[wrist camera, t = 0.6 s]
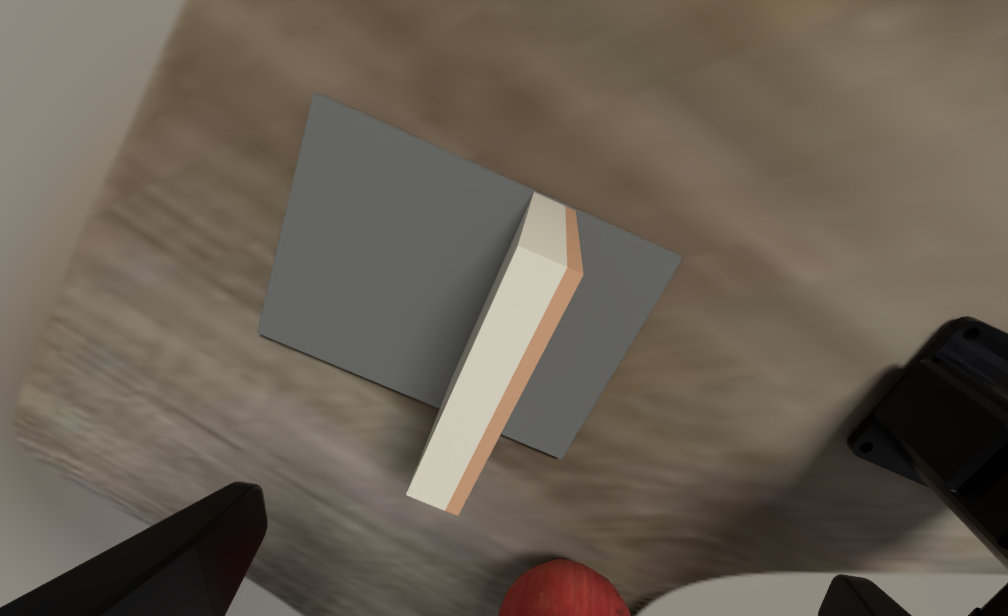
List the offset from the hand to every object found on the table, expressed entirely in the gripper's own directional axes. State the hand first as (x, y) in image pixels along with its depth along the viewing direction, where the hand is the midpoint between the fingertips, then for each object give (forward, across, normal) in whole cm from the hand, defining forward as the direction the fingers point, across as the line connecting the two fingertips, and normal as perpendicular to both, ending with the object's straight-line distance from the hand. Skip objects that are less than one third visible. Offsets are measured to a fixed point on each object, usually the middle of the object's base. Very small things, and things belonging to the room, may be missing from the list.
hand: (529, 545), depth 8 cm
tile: (+12, +2, 0) cm, 12 cm away
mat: (+12, +4, +1) cm, 13 cm away
